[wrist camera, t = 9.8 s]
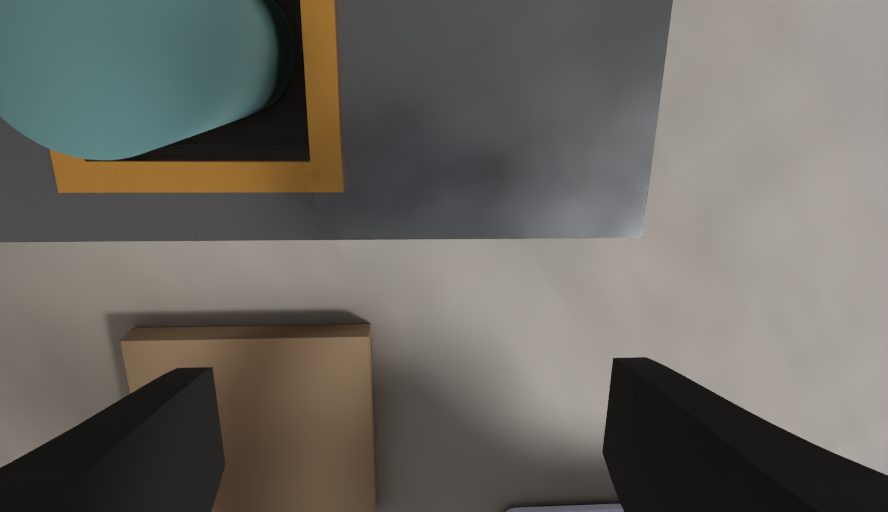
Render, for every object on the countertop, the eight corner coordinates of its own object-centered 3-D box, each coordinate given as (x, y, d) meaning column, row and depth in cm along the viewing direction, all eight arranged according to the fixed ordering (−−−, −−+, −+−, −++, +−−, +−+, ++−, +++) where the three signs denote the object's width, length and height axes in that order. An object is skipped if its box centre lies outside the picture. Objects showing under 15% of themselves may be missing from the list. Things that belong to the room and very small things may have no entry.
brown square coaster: (370, 323, 20) (369, 336, 19) (376, 508, 23) (375, 527, 22) (133, 327, 19) (120, 341, 19) (167, 516, 22) (156, 536, 21)
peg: (290, -26, 16) (192, -100, 9) (299, 118, 18) (221, 161, 10) (146, -29, 16) (-84, -109, 9) (165, 117, 17) (-18, 160, 10)
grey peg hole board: (644, -136, 16) (702, -184, 13) (606, 211, 19) (646, 240, 16) (-285, -171, 14) (-474, -235, 11) (-156, 214, 18) (-276, 247, 15)
